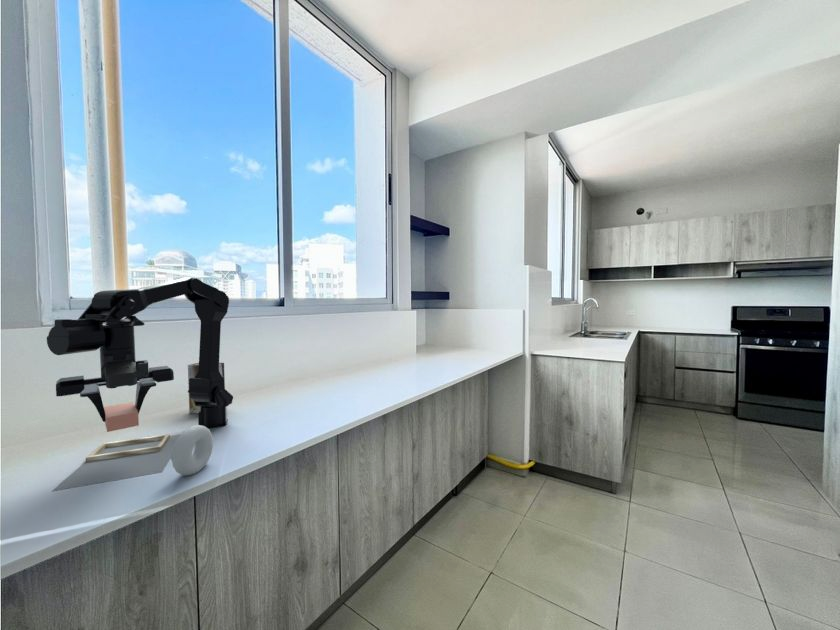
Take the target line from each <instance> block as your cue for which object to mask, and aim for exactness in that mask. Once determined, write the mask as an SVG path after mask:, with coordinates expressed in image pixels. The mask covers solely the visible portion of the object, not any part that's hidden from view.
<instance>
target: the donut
mask: <svg viewBox="0 0 840 630" xmlns="http://www.w3.org/2000/svg"><path fill="white" fill-rule="evenodd" d="M180 434H181V435H180V436H179V437H178V439H177V441H176V443H175V445H174V448H173V451H172V457H171V462H172V466H173V468H174V470H175V472H176V473H177V474H179V475H181V476H193V475H195V474H196V473H198V472H200V471H201V470H202V469H203V468H204V467H205V466H206V464H208V462H209V460H210V458H211V455H212V452H213V448H214V439H213V434H212V432H211V431H210V429H208V428H207V427H205V426H201V425H198V424H196V425H192V426H189V427H188V428H186V429H185V430H183V431H182V432H181V433H180ZM193 449H194V452H193Z"/></svg>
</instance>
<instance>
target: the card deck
mask: <svg viewBox="0 0 840 630" xmlns="http://www.w3.org/2000/svg"><path fill="white" fill-rule="evenodd" d="M103 407H104V411H105V419H106V421H105V422H104V423H105V430H106V432H107V433H109V432H114V431H119V430H124V429H127V428H128V429H129V428H133V427H137V426H139V425H140V423H139V414H138V410H137V409H136V407H135V402H133V401H130V402H126V403H118V404H113V405H112V404H111V405H107V406H103Z"/></svg>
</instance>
